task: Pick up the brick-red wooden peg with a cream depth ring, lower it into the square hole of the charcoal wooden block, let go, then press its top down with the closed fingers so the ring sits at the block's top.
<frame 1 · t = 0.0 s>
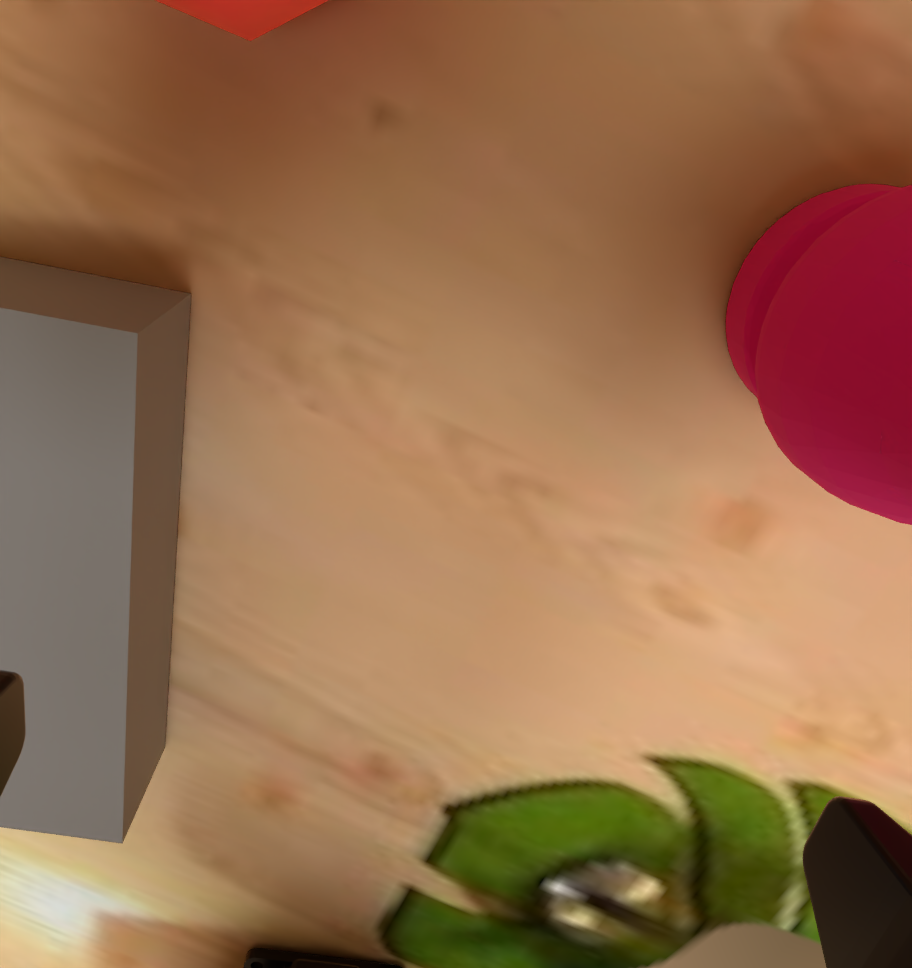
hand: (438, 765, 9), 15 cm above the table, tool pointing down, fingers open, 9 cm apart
pepper mill: (838, 305, 22), on the table
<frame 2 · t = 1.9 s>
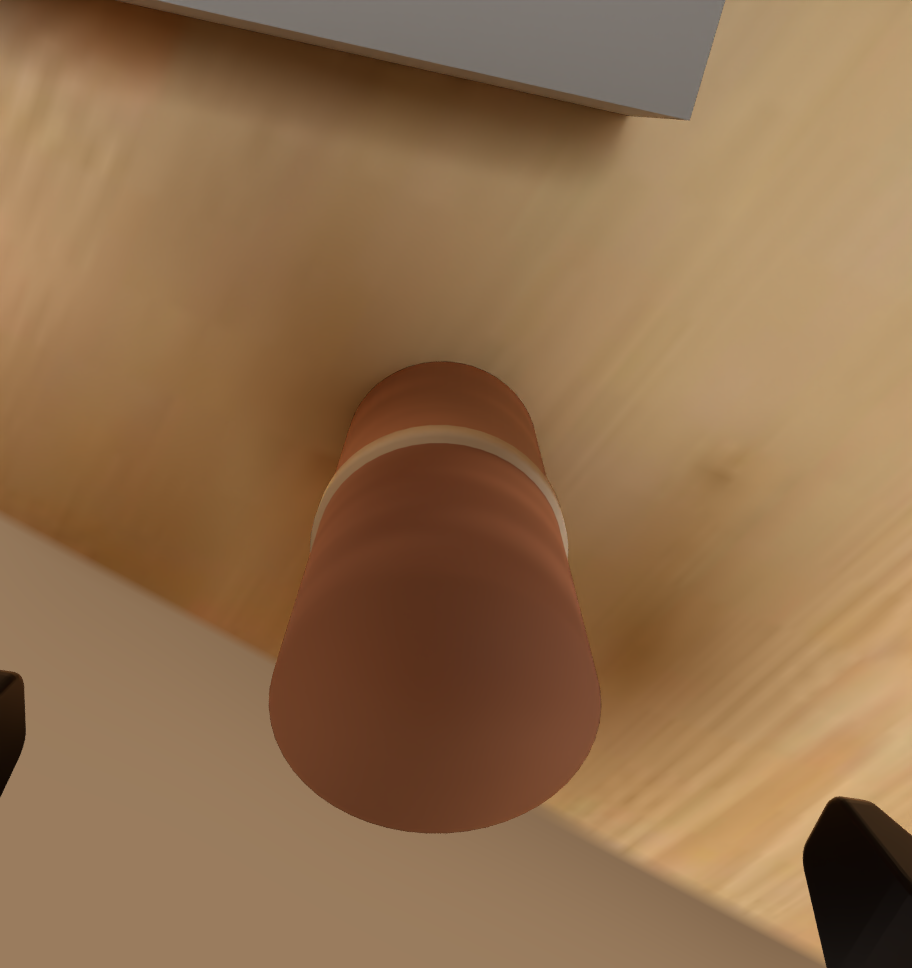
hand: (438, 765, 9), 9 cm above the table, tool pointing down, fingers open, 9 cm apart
peg: (441, 453, 17), on the table
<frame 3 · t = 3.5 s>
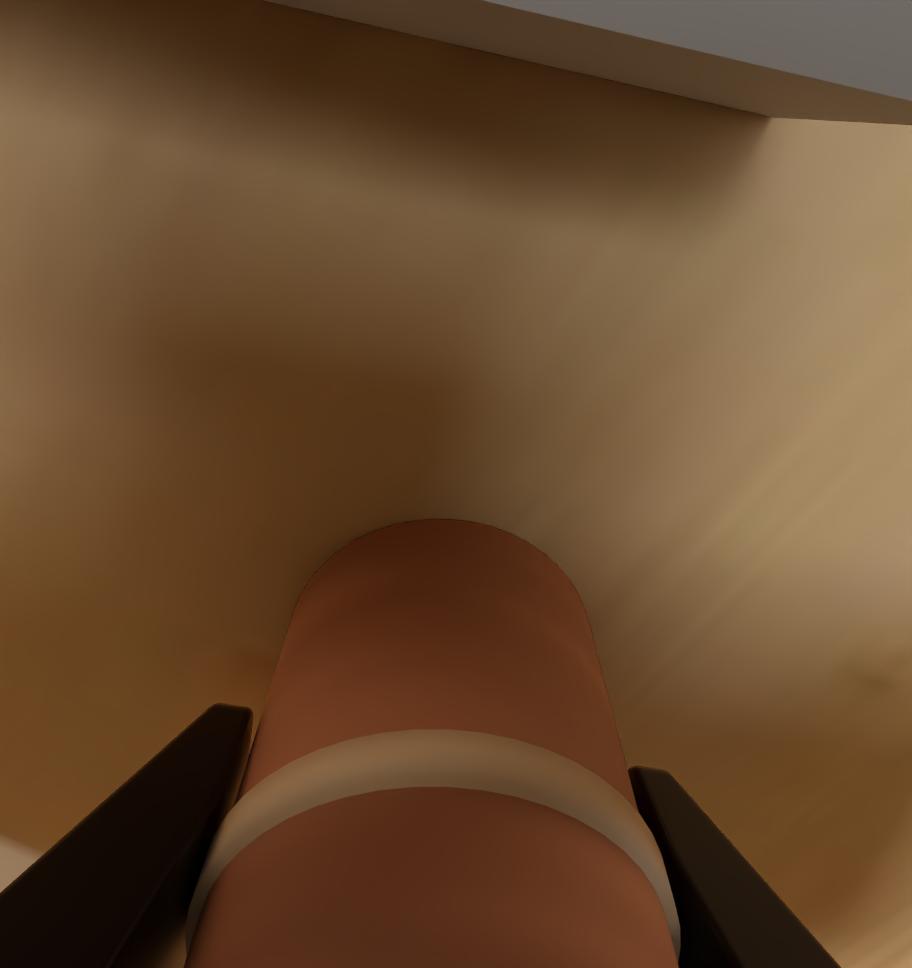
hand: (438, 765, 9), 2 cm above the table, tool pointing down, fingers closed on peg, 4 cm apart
peg: (440, 651, 11), on the table, touching gripper
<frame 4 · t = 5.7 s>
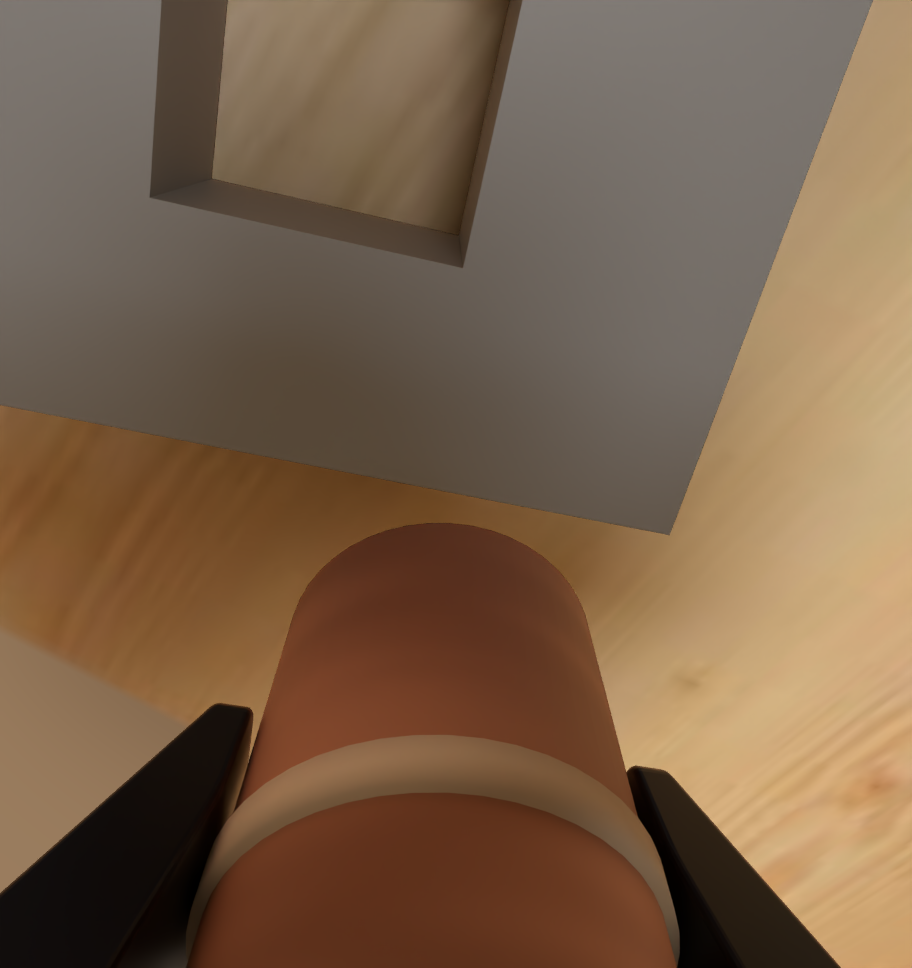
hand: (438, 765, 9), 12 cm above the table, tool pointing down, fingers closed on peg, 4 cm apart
peg: (439, 655, 11), point 10 cm above the table, touching gripper
hole block: (358, 70, 16), on the table
when the fingers open (5 cm above the table, at t = 8.2 s): peg drops 3 cm, resting in hole block.
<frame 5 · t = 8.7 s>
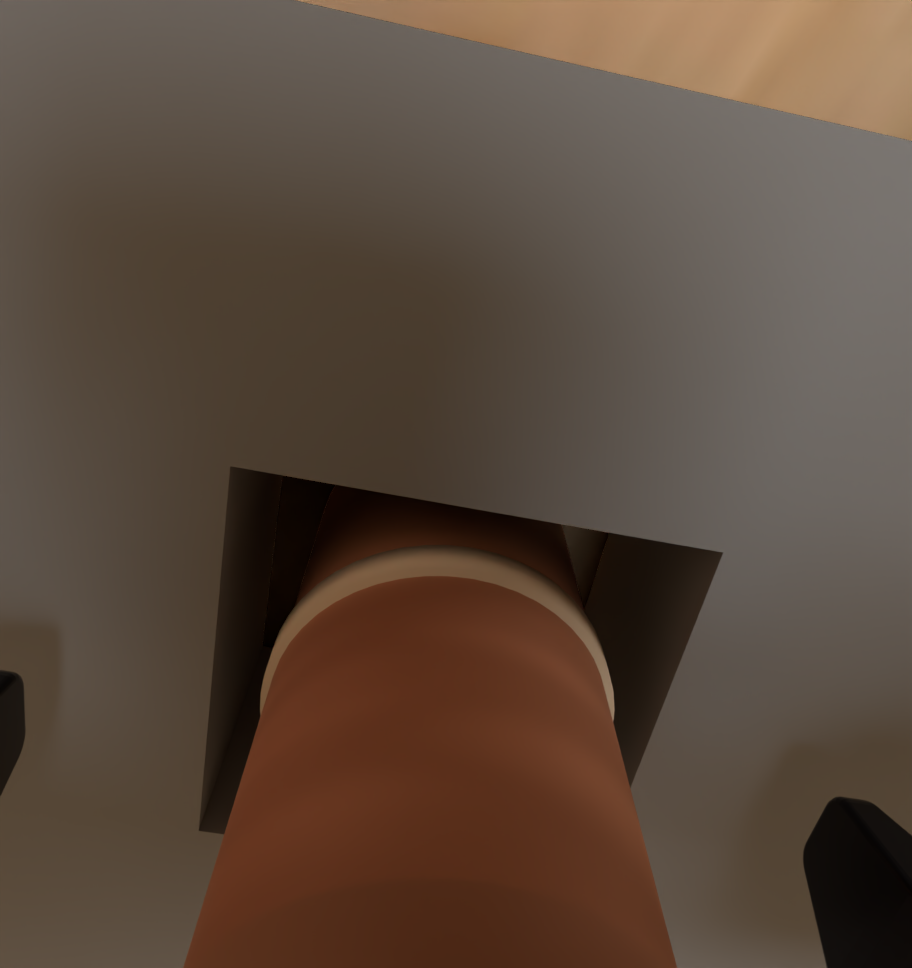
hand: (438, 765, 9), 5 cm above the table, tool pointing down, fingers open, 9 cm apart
peg: (441, 542, 13), resting in hole block
hole block: (440, 541, 13), on the table
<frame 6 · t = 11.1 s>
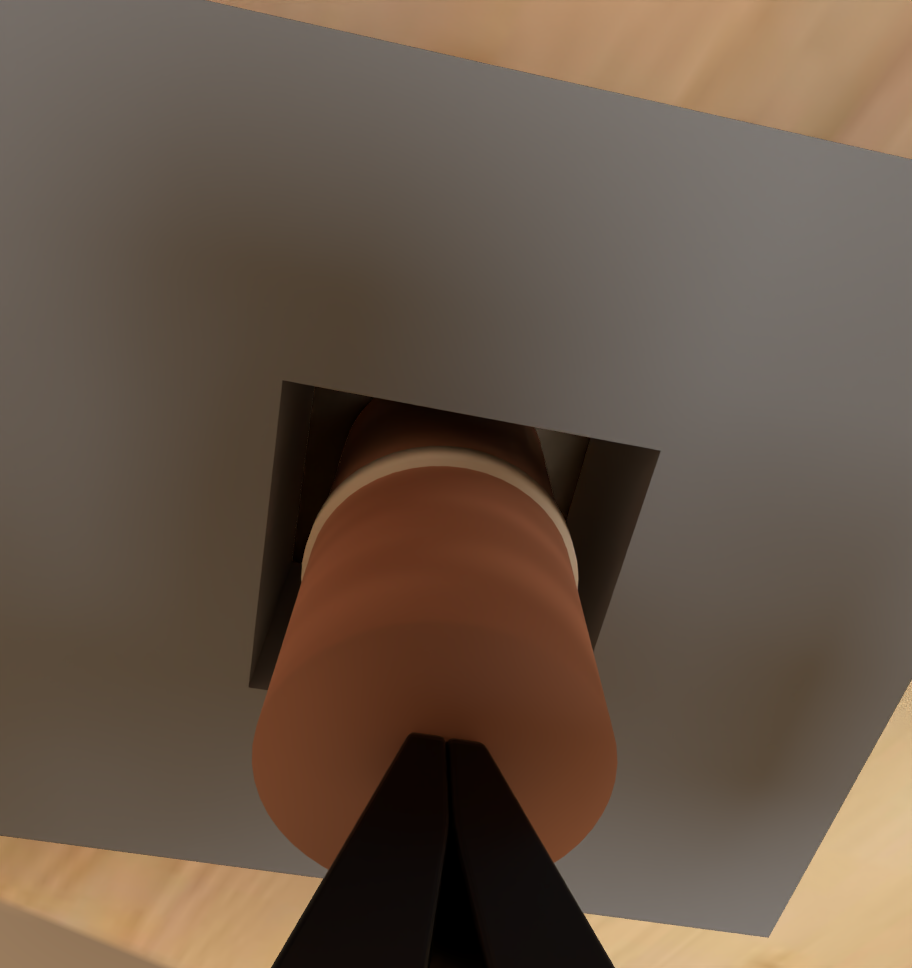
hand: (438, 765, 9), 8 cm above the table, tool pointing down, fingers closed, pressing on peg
peg: (443, 469, 16), resting in hole block, touching gripper
hole block: (442, 469, 16), on the table
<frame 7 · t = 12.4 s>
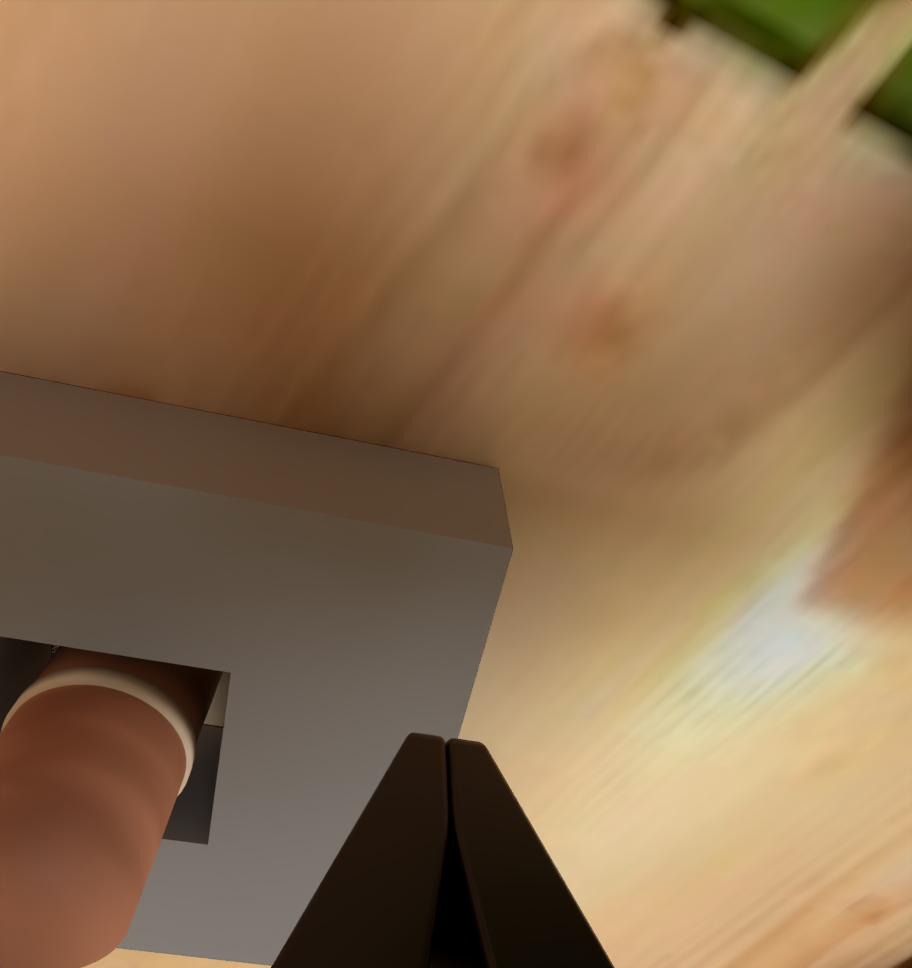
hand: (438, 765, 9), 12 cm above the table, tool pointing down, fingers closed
peg: (154, 641, 22), resting in hole block
hole block: (153, 641, 22), on the table
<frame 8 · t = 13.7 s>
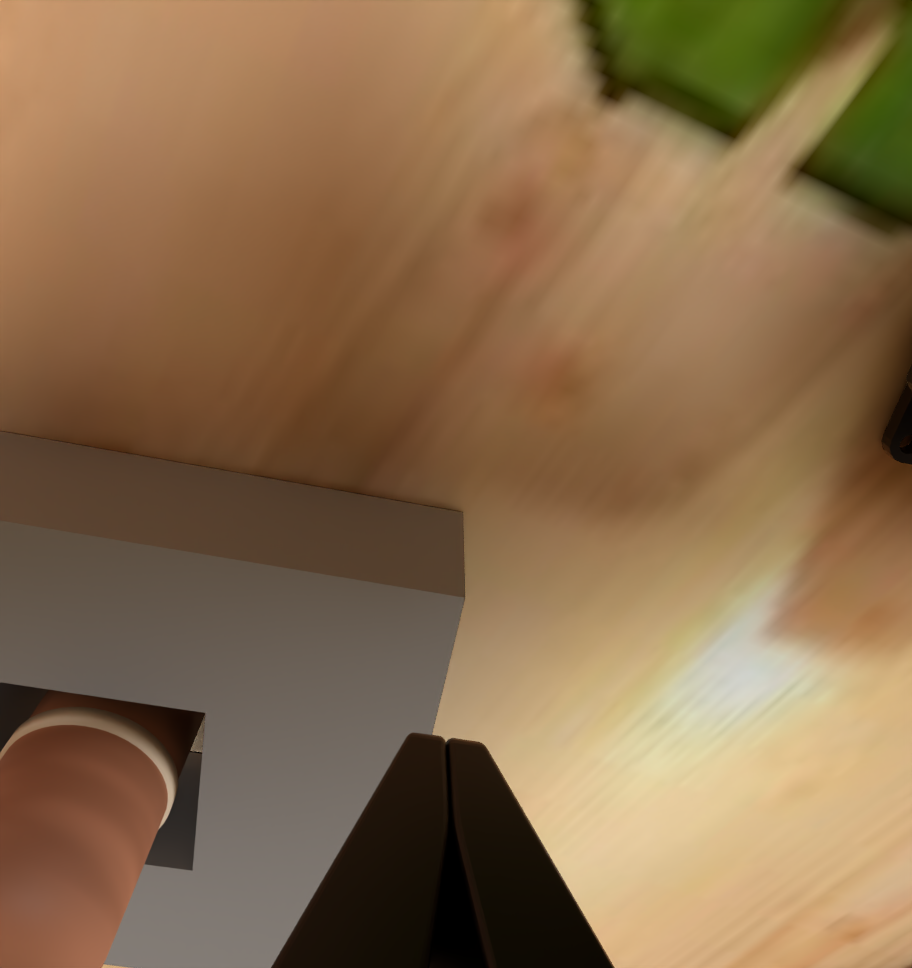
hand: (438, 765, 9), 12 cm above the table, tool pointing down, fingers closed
peg: (144, 675, 23), resting in hole block
hole block: (144, 675, 23), on the table
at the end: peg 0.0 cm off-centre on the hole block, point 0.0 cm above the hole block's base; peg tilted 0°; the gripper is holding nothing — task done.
